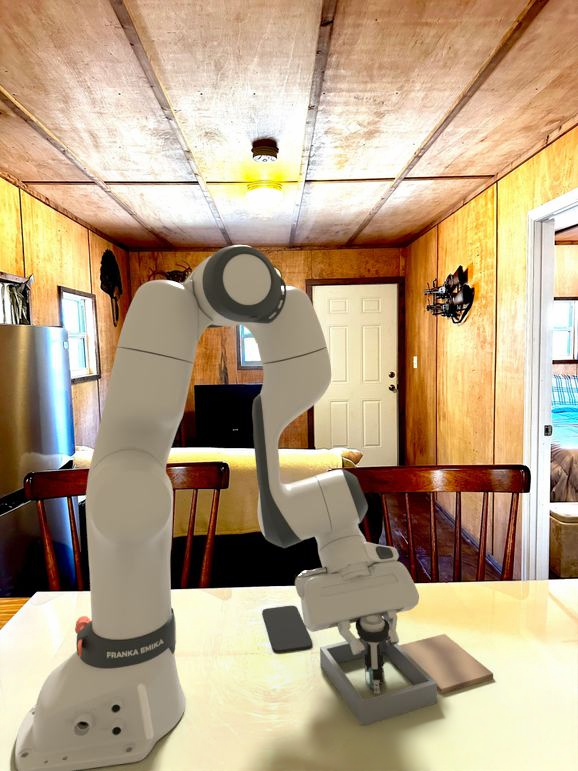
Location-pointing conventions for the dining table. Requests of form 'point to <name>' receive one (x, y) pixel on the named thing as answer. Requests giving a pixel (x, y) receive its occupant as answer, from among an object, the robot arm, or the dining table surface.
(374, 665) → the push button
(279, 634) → the phone
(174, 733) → the dining table surface
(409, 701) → the gray rectangular frame
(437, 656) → the walnut board
